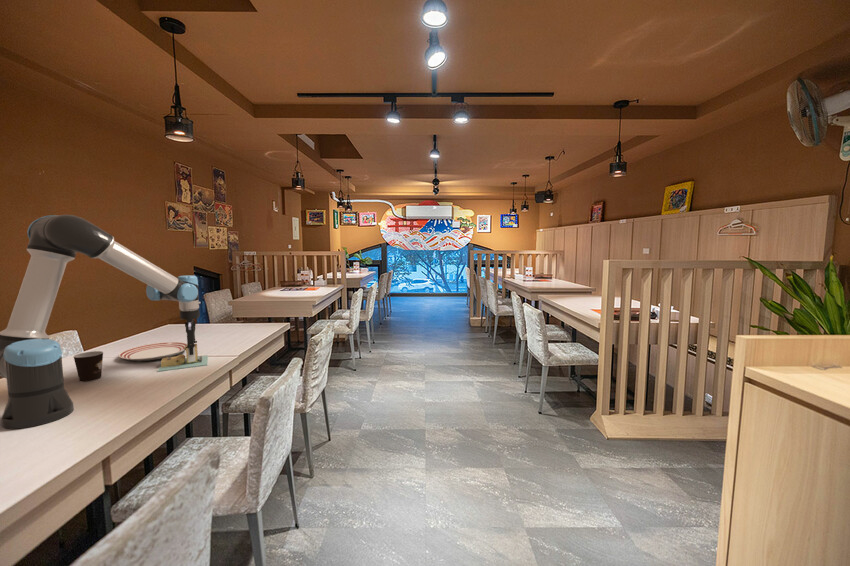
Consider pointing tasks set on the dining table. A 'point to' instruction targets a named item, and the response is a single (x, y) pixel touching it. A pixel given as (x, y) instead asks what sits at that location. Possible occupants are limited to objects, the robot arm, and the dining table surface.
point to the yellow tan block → (195, 353)
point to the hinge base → (186, 365)
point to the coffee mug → (89, 365)
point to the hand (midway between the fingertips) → (192, 359)
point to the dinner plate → (153, 351)
